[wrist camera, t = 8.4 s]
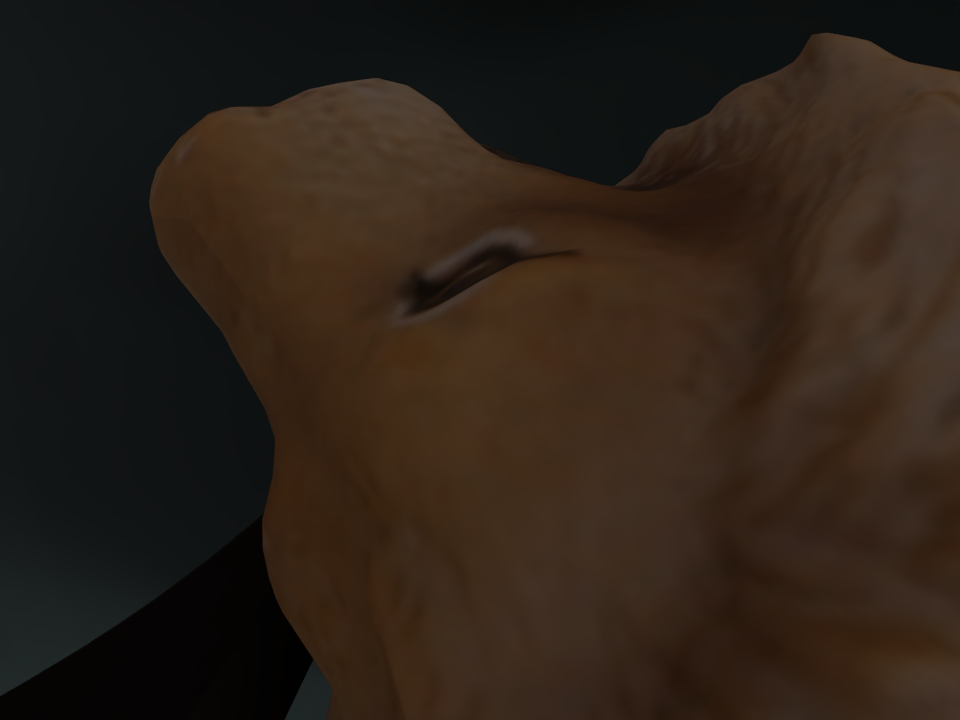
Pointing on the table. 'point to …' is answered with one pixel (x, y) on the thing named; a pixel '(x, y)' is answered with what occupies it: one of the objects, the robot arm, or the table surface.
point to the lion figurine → (602, 397)
